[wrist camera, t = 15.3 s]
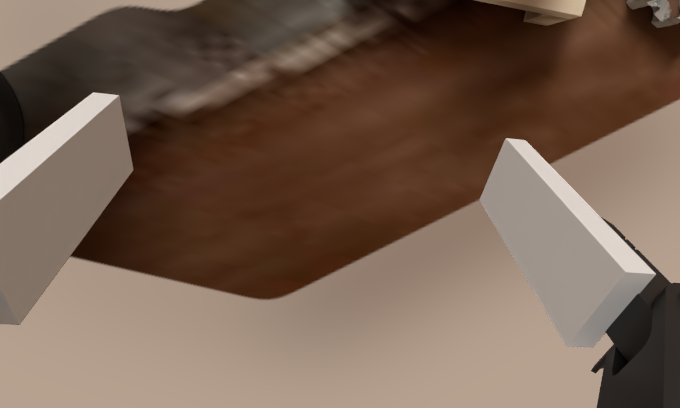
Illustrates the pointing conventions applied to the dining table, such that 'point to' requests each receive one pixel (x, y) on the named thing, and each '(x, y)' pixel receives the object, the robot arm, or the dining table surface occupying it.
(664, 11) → the egg carton
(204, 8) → the dining table surface
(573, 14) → the birch stand
